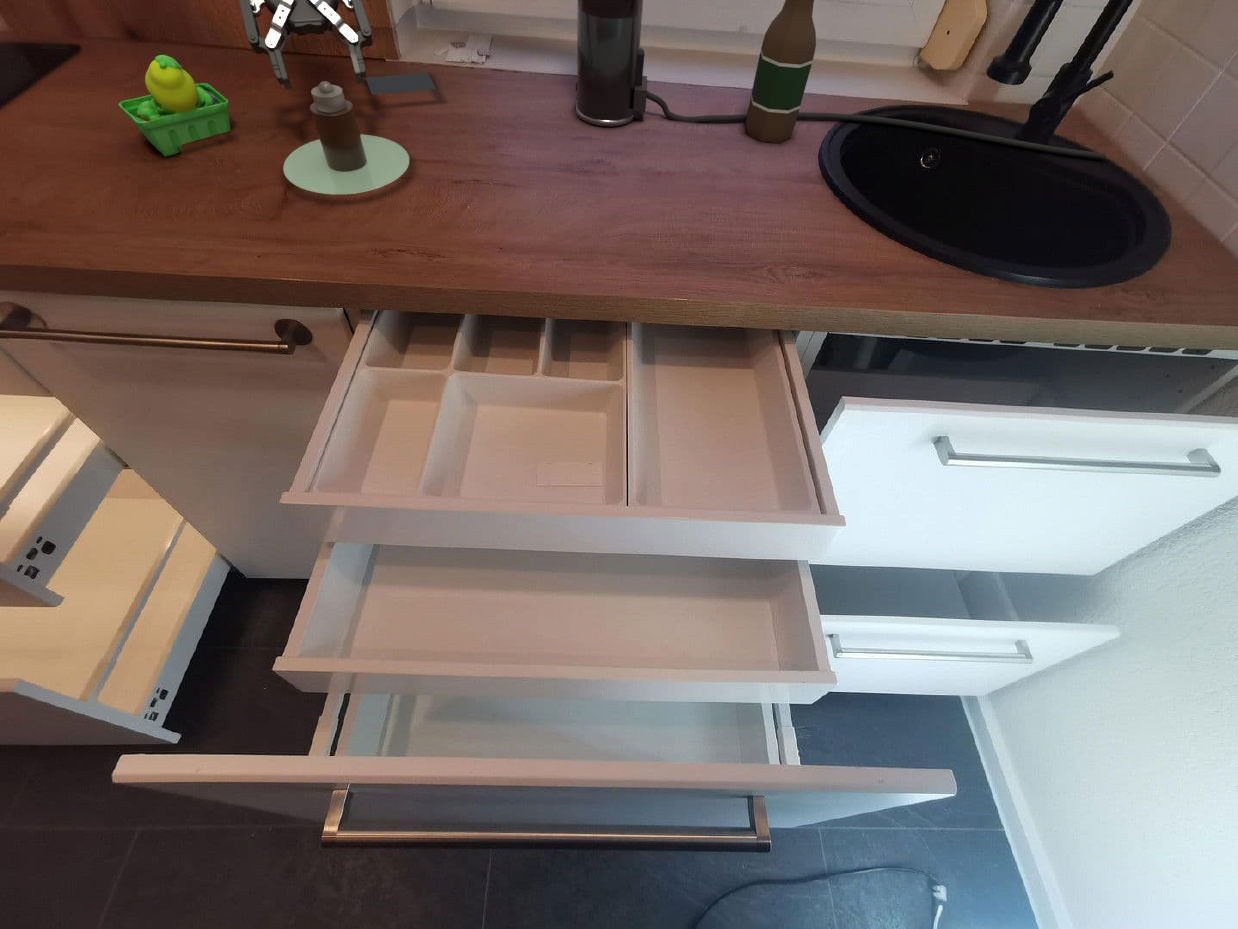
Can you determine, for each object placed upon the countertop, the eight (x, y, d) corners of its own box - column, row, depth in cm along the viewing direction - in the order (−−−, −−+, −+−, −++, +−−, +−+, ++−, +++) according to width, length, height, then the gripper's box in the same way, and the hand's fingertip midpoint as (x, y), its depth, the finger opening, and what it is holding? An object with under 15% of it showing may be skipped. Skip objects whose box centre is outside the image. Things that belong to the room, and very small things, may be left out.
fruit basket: (221, 119, 90) (182, 28, 81) (249, 142, 86) (212, 50, 77) (137, 141, 84) (86, 47, 75) (163, 168, 81) (113, 72, 72)
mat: (428, 76, 103) (428, 72, 102) (441, 101, 97) (440, 97, 97) (366, 81, 100) (365, 77, 100) (375, 108, 95) (374, 104, 94)
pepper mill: (364, 151, 84) (343, 71, 76) (369, 168, 82) (348, 88, 74) (325, 155, 83) (300, 74, 75) (329, 173, 80) (303, 92, 72)
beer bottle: (797, 128, 99) (851, -63, 80) (784, 148, 95) (838, -49, 76) (751, 116, 101) (793, -74, 82) (736, 135, 97) (777, -61, 77)
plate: (400, 136, 90) (398, 128, 89) (421, 193, 81) (419, 184, 80) (282, 150, 85) (278, 141, 84) (291, 210, 77) (287, 201, 76)
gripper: (209, -83, 69) (255, 72, 72) (343, -85, 73) (381, 63, 76) (229, -38, 76) (270, 102, 79) (350, -42, 80) (384, 92, 83)
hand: (324, 83), depth 77 cm, fingers open, 8 cm apart
